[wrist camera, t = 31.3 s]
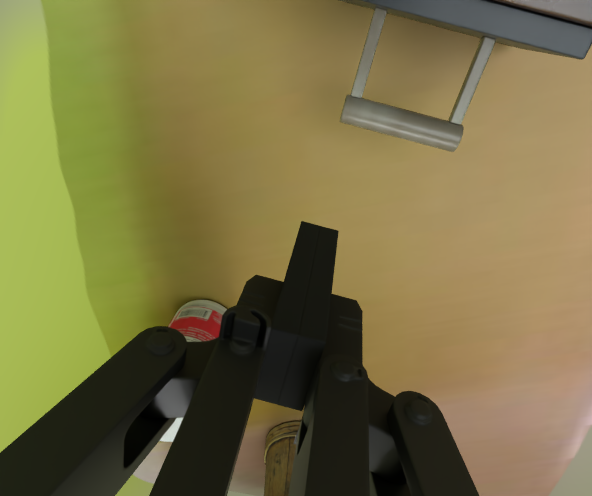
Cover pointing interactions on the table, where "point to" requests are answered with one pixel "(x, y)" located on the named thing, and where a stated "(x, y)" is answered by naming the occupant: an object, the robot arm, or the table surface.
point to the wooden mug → (280, 459)
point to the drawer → (490, 28)
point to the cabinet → (557, 9)
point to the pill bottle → (195, 334)
